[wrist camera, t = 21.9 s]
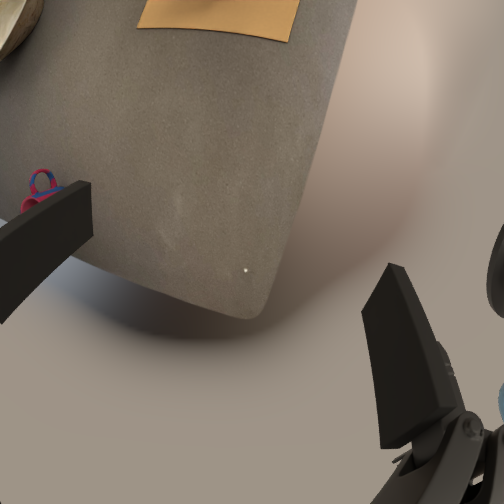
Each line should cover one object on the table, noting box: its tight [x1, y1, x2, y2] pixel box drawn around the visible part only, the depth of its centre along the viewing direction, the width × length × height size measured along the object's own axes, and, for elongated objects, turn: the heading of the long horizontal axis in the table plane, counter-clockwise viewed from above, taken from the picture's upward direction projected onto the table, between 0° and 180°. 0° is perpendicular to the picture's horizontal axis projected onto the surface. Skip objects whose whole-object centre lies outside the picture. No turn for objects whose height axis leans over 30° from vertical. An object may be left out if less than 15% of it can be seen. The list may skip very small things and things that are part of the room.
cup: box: [20, 169, 64, 214], centre depth 32 cm, size 7×10×7 cm
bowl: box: [0, 0, 44, 61], centre depth 19 cm, size 24×24×10 cm
